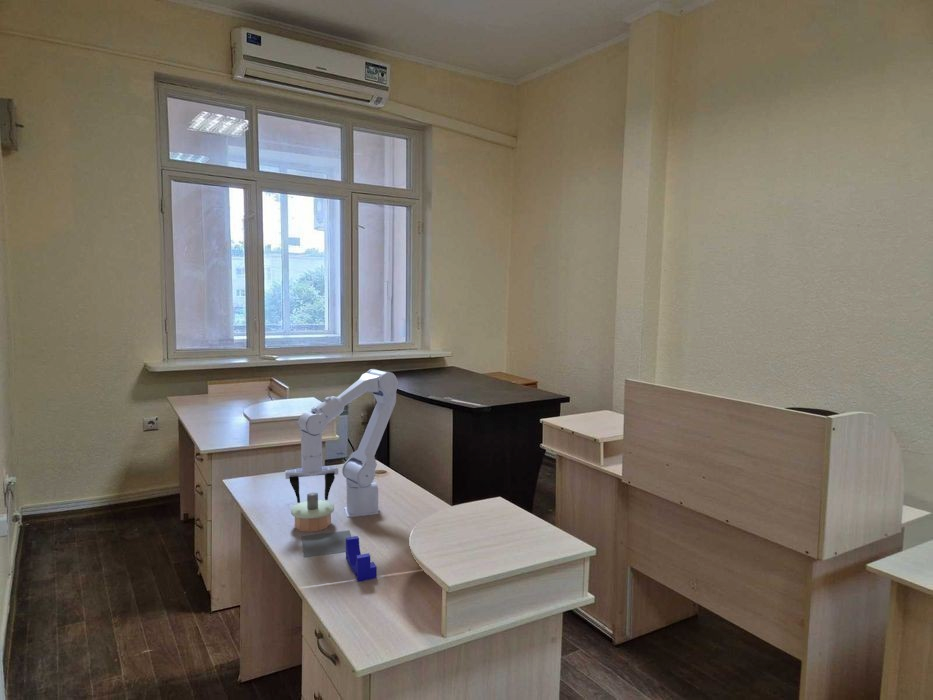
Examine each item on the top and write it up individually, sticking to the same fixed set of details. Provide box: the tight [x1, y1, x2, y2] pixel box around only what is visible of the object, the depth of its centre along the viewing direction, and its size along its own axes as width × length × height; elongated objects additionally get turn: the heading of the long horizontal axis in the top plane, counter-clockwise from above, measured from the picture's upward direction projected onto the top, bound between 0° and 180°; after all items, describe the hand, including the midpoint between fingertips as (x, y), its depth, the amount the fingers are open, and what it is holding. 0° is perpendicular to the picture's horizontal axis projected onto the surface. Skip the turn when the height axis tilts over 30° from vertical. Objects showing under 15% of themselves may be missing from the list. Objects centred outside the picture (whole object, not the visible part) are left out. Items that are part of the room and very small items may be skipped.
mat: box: [301, 529, 352, 558], centre depth 155 cm, size 13×13×1 cm
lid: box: [290, 492, 335, 519], centre depth 166 cm, size 12×12×5 cm
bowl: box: [294, 513, 332, 533], centre depth 167 cm, size 10×10×4 cm
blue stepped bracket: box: [345, 535, 378, 583], centre depth 142 cm, size 12×4×6 cm, turn 25°
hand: (312, 500), depth 167 cm, fingers open, 7 cm apart
